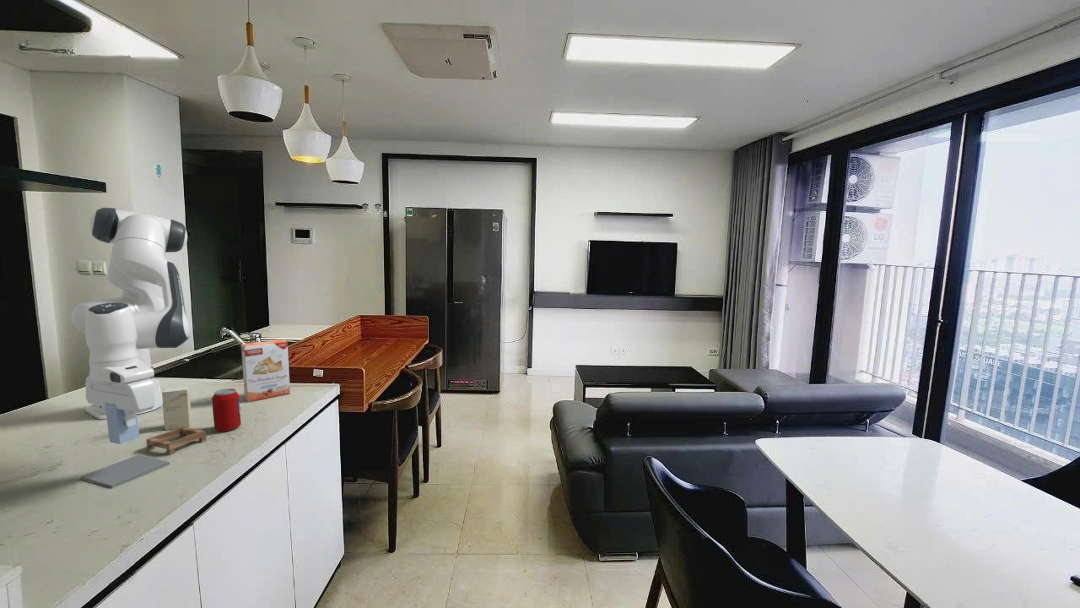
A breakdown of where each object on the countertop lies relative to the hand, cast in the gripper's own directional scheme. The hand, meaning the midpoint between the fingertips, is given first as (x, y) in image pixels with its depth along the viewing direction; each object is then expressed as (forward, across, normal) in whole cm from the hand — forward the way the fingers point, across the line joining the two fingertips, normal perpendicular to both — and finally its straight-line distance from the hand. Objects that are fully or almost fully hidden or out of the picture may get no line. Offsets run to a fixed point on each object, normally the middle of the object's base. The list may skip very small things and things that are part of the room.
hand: (122, 424), depth 108 cm
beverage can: (+13, -2, +27) cm, 30 cm away
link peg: (+4, 0, 0) cm, 4 cm away
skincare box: (+12, -18, +23) cm, 32 cm away
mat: (+12, 0, 0) cm, 12 cm away
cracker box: (+12, -17, +53) cm, 57 cm away
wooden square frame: (+12, -4, +14) cm, 19 cm away
